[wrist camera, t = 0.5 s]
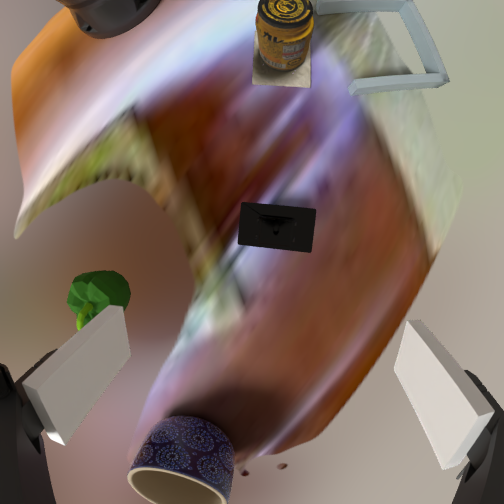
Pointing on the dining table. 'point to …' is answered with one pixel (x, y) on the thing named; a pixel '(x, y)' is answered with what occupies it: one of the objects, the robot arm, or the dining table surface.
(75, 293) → the bell pepper
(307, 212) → the black angular block
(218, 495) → the planter
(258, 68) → the condiment
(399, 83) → the bay
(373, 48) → the dining table surface
